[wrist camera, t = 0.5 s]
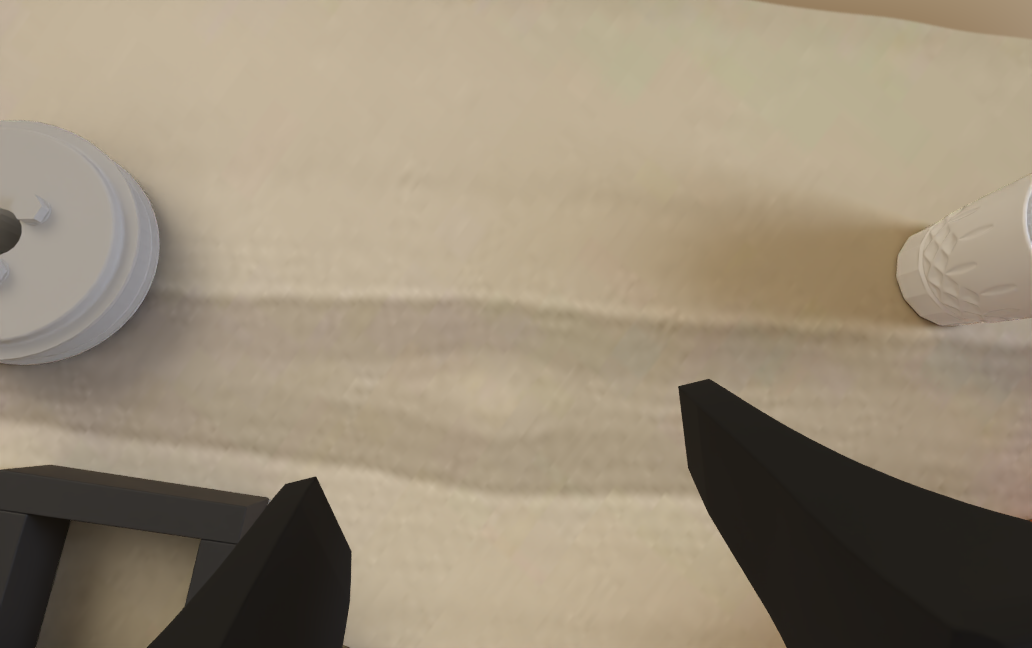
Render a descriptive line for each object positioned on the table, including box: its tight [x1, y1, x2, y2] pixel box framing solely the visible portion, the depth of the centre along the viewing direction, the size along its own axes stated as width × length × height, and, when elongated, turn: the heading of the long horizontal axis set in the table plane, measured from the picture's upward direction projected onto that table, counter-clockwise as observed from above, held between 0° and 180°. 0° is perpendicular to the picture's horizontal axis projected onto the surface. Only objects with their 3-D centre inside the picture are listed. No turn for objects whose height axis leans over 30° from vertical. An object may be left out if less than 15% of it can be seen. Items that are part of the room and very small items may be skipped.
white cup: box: [896, 173, 1032, 326], centre depth 37 cm, size 8×8×10 cm
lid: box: [0, 120, 160, 365], centre depth 33 cm, size 13×13×5 cm
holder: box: [0, 465, 268, 648], centre depth 31 cm, size 12×12×4 cm
